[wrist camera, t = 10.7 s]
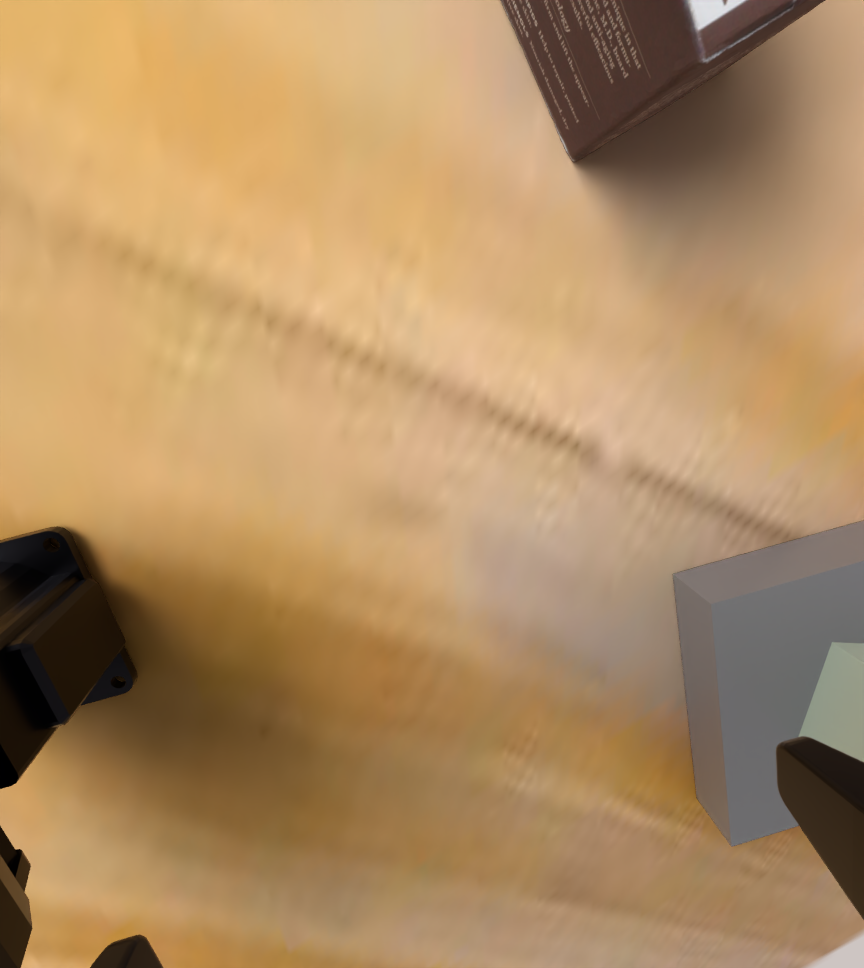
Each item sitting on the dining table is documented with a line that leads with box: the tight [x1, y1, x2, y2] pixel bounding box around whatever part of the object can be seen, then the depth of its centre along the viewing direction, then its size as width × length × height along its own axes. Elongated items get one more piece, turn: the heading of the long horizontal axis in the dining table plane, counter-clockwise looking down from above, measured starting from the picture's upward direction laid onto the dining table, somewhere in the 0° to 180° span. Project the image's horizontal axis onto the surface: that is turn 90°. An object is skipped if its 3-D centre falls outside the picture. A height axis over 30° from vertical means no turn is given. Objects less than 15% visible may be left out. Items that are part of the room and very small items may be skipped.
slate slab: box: [673, 521, 864, 847], centre depth 23 cm, size 12×12×2 cm
